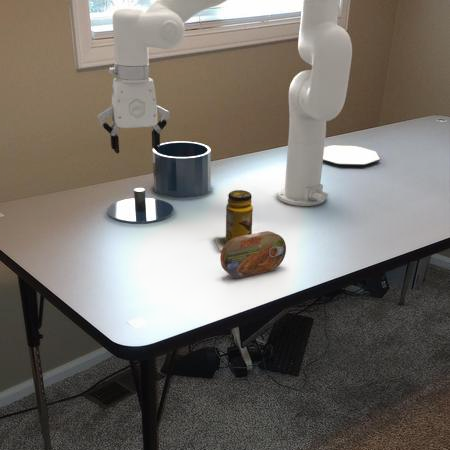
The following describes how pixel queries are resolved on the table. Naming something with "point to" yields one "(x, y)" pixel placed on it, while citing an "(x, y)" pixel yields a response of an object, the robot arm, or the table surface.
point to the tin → (253, 254)
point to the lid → (140, 209)
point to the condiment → (237, 216)
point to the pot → (182, 169)
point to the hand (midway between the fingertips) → (136, 150)
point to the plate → (349, 155)
